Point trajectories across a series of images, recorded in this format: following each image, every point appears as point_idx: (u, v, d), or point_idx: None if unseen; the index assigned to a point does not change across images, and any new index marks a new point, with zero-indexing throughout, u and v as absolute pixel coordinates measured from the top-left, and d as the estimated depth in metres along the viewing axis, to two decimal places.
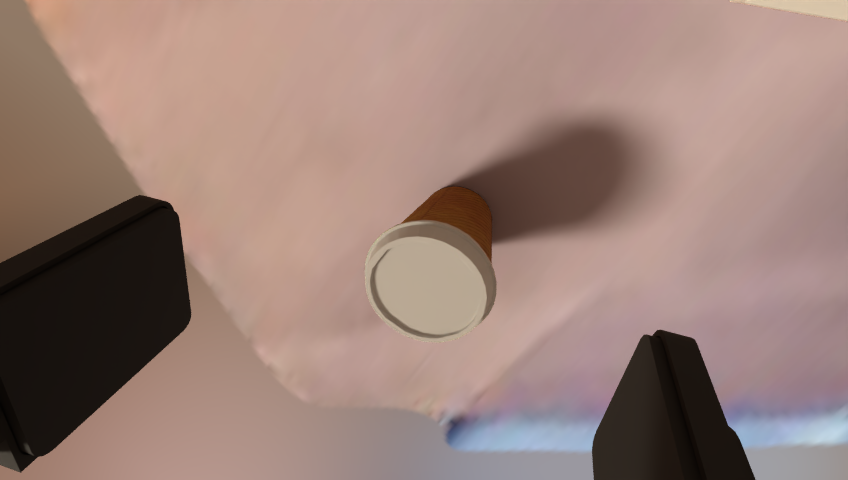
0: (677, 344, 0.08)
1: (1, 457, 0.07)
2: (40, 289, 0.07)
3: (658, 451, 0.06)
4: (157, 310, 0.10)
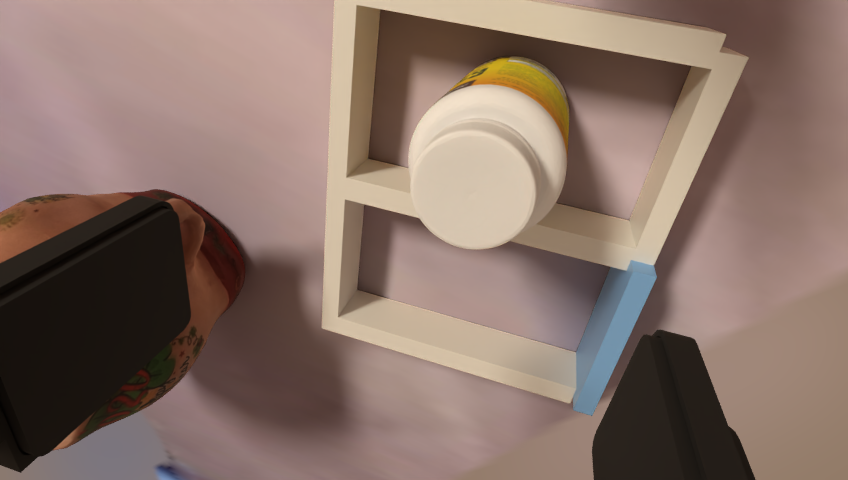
0: (677, 344, 0.08)
1: (1, 457, 0.07)
2: (40, 289, 0.07)
3: (658, 451, 0.06)
4: (157, 310, 0.10)
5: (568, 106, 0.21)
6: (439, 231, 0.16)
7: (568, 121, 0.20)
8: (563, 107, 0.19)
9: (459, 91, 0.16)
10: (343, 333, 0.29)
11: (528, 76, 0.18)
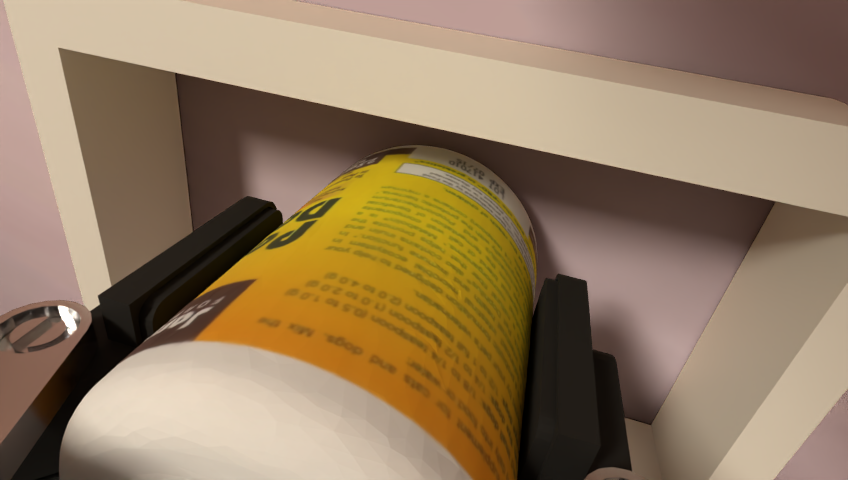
0: (568, 284, 0.09)
1: None
2: (189, 283, 0.08)
3: (535, 366, 0.08)
4: None
5: (534, 251, 0.10)
6: None
7: (530, 306, 0.09)
8: (515, 294, 0.08)
9: (145, 370, 0.05)
10: None
11: (420, 241, 0.07)
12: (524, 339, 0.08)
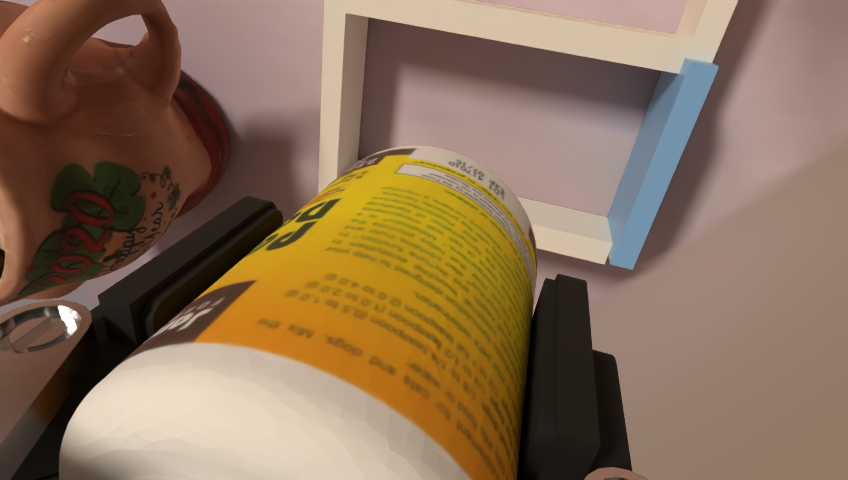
0: (568, 284, 0.09)
1: None
2: (189, 283, 0.08)
3: (535, 366, 0.08)
4: None
5: (533, 251, 0.10)
6: None
7: (530, 307, 0.09)
8: (515, 294, 0.08)
9: (144, 371, 0.05)
10: None
11: (420, 242, 0.07)
12: (524, 340, 0.08)
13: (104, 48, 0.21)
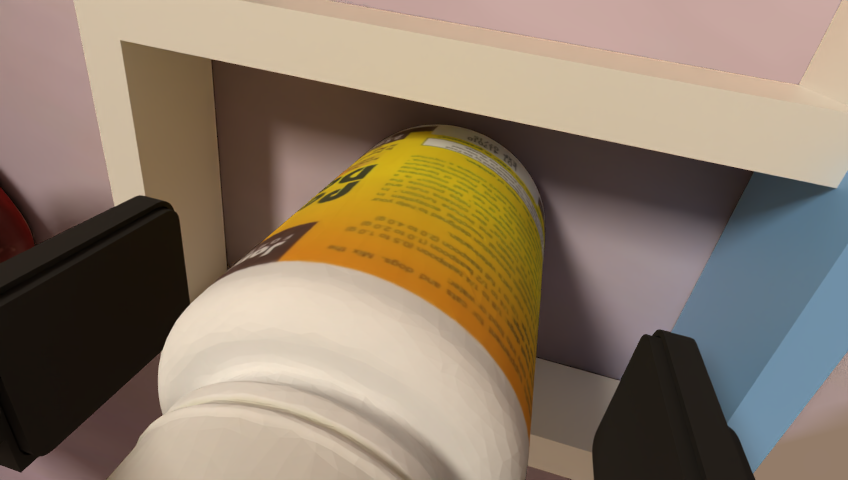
0: (677, 344, 0.08)
1: (1, 457, 0.07)
2: (40, 289, 0.07)
3: (658, 451, 0.06)
4: (157, 310, 0.10)
5: (542, 218, 0.12)
6: None
7: (541, 263, 0.10)
8: (529, 247, 0.09)
9: (241, 281, 0.06)
10: None
11: (449, 197, 0.08)
12: (537, 286, 0.09)
13: None
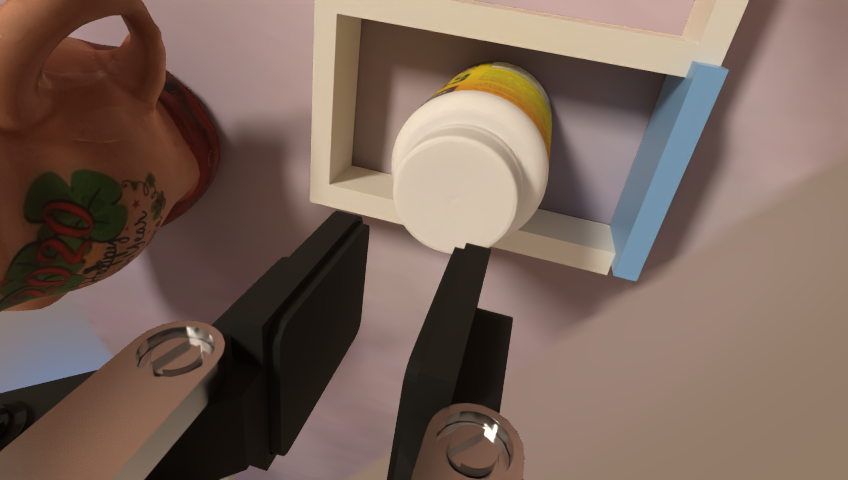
0: (472, 251, 0.09)
1: None
2: (305, 302, 0.08)
3: None
4: (348, 318, 0.10)
5: (551, 111, 0.21)
6: (423, 236, 0.16)
7: (551, 126, 0.20)
8: (545, 112, 0.19)
9: (441, 97, 0.16)
10: (335, 207, 0.25)
11: (510, 82, 0.18)
12: (549, 129, 0.19)
13: (84, 50, 0.20)
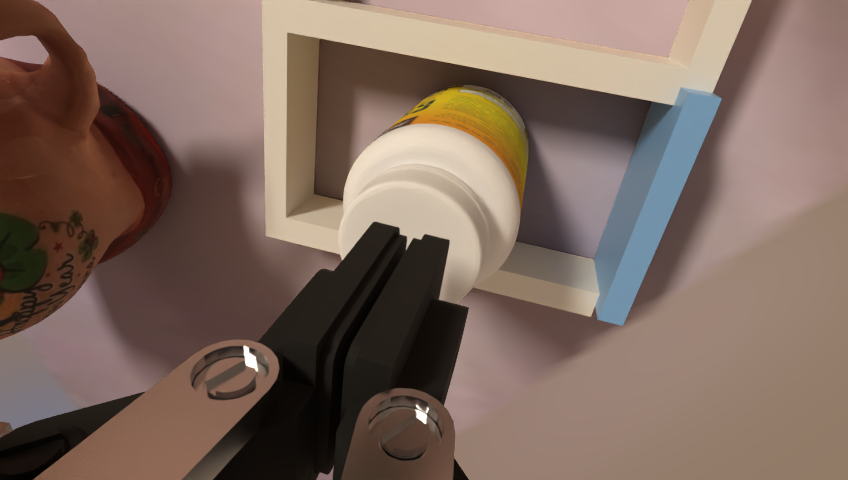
0: (430, 242, 0.09)
1: None
2: (354, 318, 0.07)
3: None
4: None
5: (527, 139, 0.19)
6: None
7: (526, 157, 0.18)
8: (519, 143, 0.17)
9: (396, 131, 0.14)
10: (294, 241, 0.22)
11: (478, 110, 0.16)
12: (523, 162, 0.17)
13: None
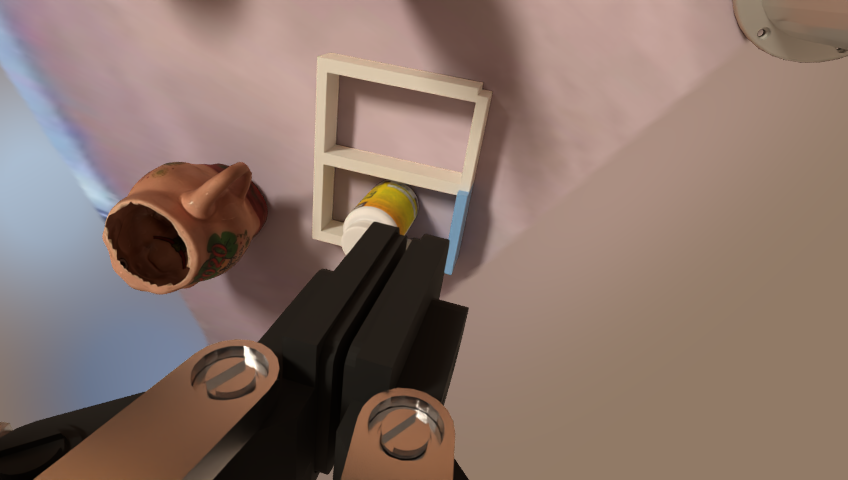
0: (429, 242, 0.09)
1: None
2: (354, 318, 0.07)
3: None
4: None
5: (415, 202, 0.50)
6: None
7: (411, 210, 0.48)
8: (406, 207, 0.48)
9: (359, 208, 0.44)
10: (323, 240, 0.53)
11: (390, 197, 0.47)
12: (407, 214, 0.47)
13: None
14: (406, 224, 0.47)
